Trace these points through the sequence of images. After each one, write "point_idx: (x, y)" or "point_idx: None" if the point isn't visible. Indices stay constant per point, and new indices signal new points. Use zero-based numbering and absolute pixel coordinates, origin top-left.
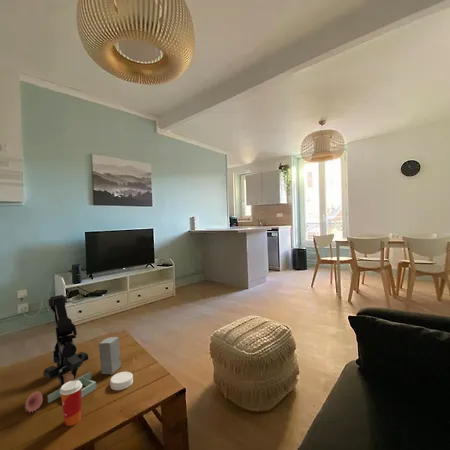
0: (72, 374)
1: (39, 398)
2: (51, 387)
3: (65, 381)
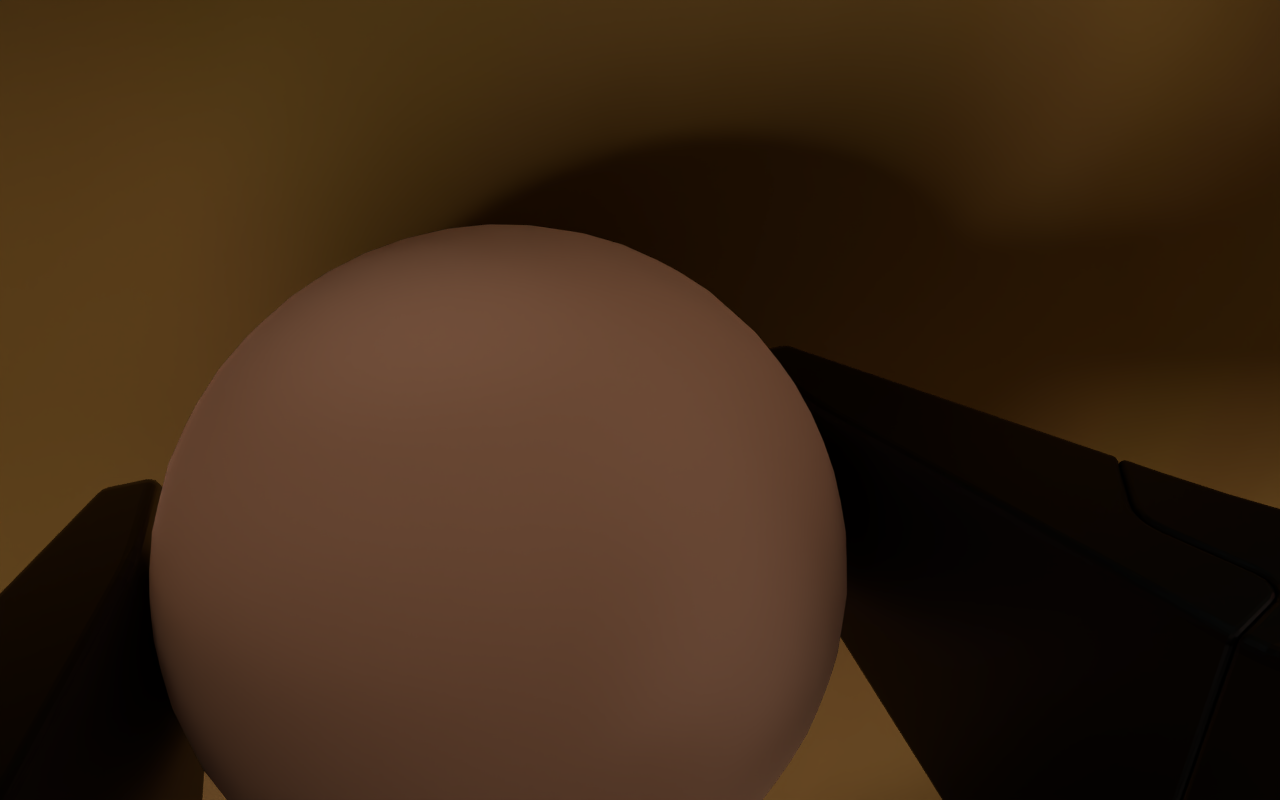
0: (270, 630)
1: None
2: None
3: (772, 355)
